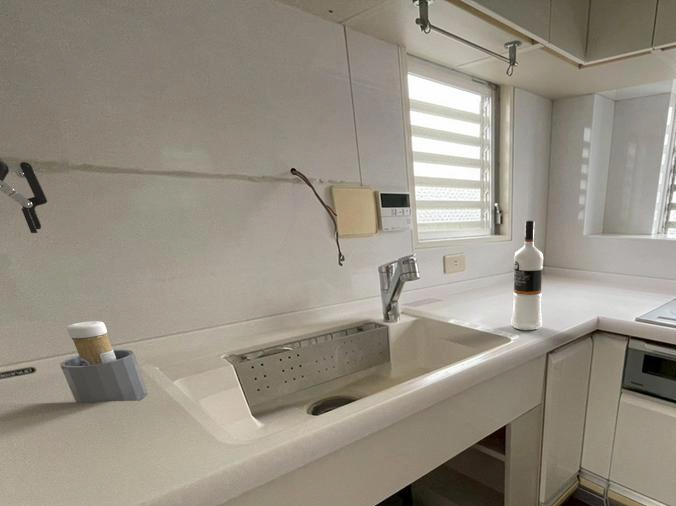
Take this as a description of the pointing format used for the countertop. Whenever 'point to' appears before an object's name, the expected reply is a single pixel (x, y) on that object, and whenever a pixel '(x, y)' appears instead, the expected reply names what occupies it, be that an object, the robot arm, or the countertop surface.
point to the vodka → (527, 283)
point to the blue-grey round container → (105, 379)
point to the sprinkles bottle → (91, 342)
